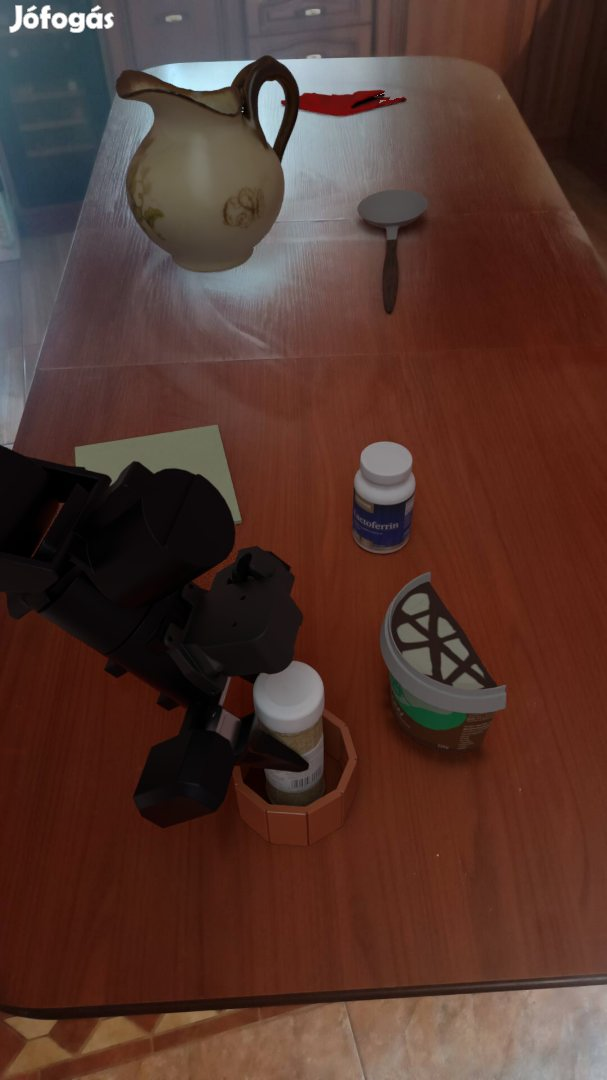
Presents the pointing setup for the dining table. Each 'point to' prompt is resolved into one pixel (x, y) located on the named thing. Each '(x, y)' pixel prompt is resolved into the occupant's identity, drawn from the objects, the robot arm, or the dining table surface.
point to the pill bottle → (383, 498)
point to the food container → (436, 673)
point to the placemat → (166, 457)
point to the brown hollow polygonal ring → (315, 818)
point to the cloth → (344, 102)
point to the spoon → (392, 228)
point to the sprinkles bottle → (293, 730)
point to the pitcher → (208, 166)
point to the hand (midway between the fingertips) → (311, 739)
